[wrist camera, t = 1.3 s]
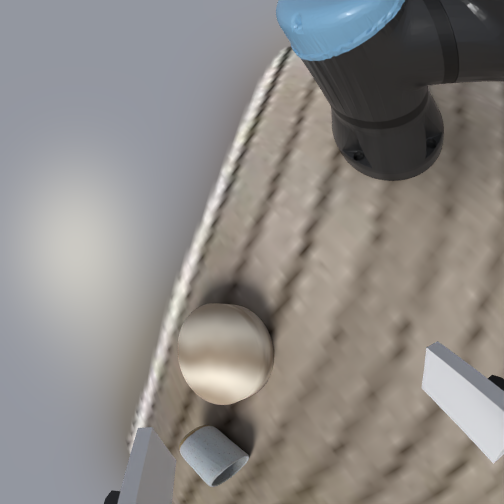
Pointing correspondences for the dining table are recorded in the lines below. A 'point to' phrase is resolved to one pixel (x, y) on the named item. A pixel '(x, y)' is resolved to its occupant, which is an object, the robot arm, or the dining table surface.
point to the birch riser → (225, 353)
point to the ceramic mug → (212, 454)
